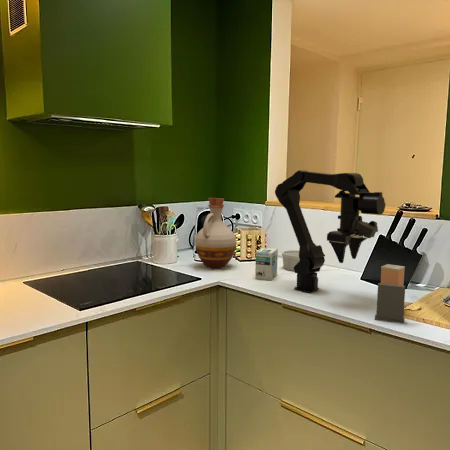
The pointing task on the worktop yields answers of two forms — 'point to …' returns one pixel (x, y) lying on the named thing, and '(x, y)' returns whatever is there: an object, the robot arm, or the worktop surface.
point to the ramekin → (290, 259)
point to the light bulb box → (266, 263)
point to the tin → (392, 274)
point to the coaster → (407, 304)
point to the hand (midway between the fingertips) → (347, 260)
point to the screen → (390, 303)
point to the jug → (215, 238)
